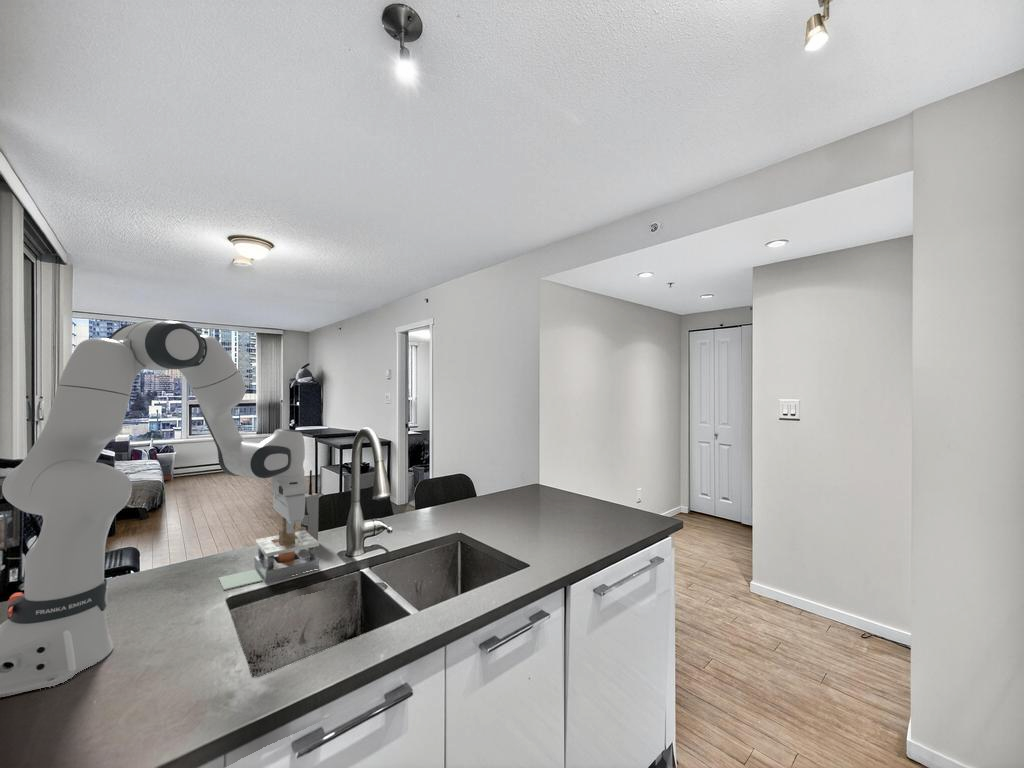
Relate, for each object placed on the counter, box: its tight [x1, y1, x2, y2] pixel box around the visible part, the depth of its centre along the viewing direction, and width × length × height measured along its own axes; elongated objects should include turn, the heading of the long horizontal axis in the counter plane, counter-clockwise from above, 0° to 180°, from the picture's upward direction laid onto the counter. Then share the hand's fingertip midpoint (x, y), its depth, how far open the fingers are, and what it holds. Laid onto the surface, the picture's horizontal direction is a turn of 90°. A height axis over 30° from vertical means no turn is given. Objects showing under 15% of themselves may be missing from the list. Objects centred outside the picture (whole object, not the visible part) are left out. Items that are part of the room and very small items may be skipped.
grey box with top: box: [254, 530, 320, 584], centre depth 133 cm, size 14×14×8 cm
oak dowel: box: [278, 514, 296, 546], centre depth 133 cm, size 4×4×9 cm
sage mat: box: [217, 569, 263, 591], centre depth 124 cm, size 9×9×1 cm
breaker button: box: [278, 551, 295, 563], centre depth 133 cm, size 4×4×4 cm
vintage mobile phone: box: [300, 469, 320, 542], centre depth 153 cm, size 4×5×25 cm
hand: (287, 530), depth 133 cm, fingers closed on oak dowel, 3 cm apart
